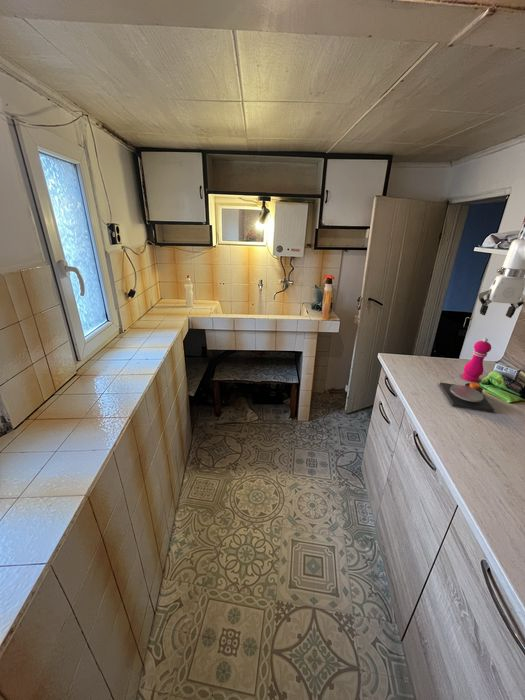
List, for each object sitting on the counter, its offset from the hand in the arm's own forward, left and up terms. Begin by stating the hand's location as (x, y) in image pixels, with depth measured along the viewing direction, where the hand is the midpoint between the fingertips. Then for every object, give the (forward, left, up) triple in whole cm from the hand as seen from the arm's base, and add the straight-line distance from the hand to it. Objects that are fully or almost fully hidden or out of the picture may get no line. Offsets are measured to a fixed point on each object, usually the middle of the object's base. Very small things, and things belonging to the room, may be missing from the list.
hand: (495, 315), depth 116 cm
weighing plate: (+10, +21, -27) cm, 36 cm away
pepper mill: (0, 0, -30) cm, 30 cm away
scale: (+9, +19, -30) cm, 37 cm away
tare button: (+4, +14, -28) cm, 31 cm away
